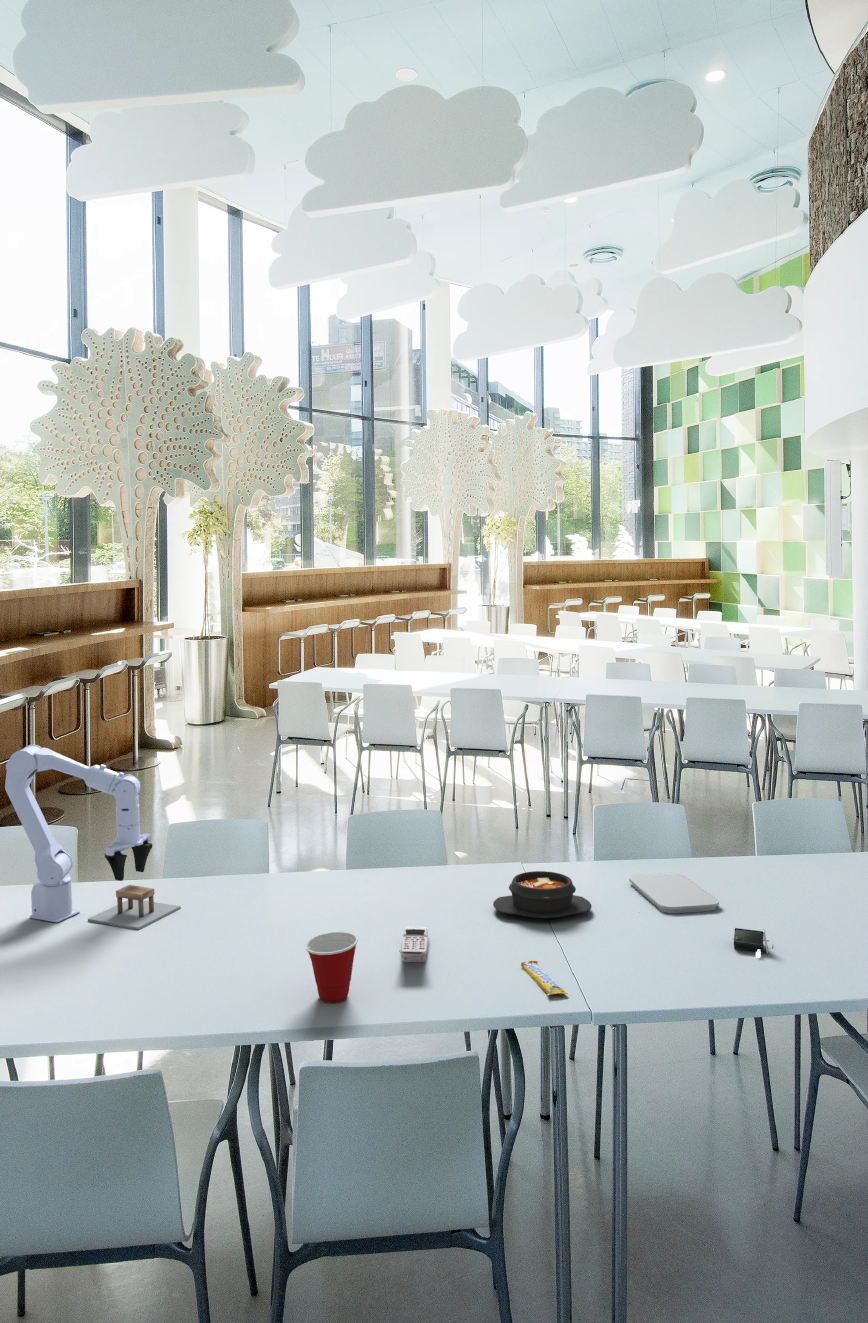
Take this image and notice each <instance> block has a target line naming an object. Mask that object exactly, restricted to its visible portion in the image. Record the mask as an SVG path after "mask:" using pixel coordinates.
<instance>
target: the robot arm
mask: <svg viewBox="0 0 868 1323" xmlns="http://www.w3.org/2000/svg"><path fill="white" fill-rule="evenodd" d="M5 768H6V773H5V785H4V789H5V792H6V794H7V796H8V798H9V800H10V802H11V805H12V806H13V808H14V811H15V812H16V815H17V817H18V819H19V822H20V823H21V825H22V827H23V829H24V831H25V833H26V835H27V837H28V838H27V839H29V842H30V844H31V846H32V848H33V851H34V862H35V865H36V870H37V871H36V875H37V876H36V877H37V878H38V880H37V881H36V882H35V883H34V884H33V886H32V889H31V893H30V895H31V896H30V899H31V914H30V915H29V919H34V920H35V919H36V920H40V921H46V922H52V923H60V922H63V921H64V920H66V919H69V918H71V917H73V916H75V915H78V914H80V913H81V910H78V909H73V898H72V897H73V896H72V895H73V894H72V893H73V892H72V877H71V875H70V874H69V872H70V871H71V870H72V868H73V864H74V863H73V862H74V861H73V857H72V856H71V855H70V854H69V853H68V852H66V850H64V848H63V846H62V844H61V843H59V842H58V841H57V840H55V838H54V836H53V833H52V831H51V829H50V827H49V825H48V822H47V821H46V819H45V816H44V814H43V812H42V810H41V808H40V806H39V804H38V802H37V800H36V798H35V796H34V793H33V791H32V789H31V787H30V784H31V783H32V780H33V779H34V776H35V774H36V773H39V772H44V771H50V770H55V771H58V772H60V773H64V774H66V775H70V776H73V777H76V778H79V779H83V781H84V784H85V785H86V787H89V788H92V789H94V790H97V791H100V792H103V793H105V794H108V795H113V796H112V797H113V798H114V799H115V823H116V824H115V826H116V841H114V842H112V844H110V845H108V846H106V847H105V853H104V858H105V859H106V860H107V862H108V864H109V866H110V868H111V871H112V874H113V876H114V880H115V881H120V882H123V881H124V877H125V864H126V860H127V857H128V855H127V854H124V853H123V851H126V850H127V849H128V850H129V849H132V854H133V857H134V858H133V859H134V868H135V869H134V870H135V872H138V873H139V872H140V873H144V871H145V868H146V864H147V860H148V857H149V853H150V852H151V851H152V849H153V843H150V842H151V841H152V835H151V834H152V833H147V832H144V833H142V834H141V819H140V818H141V817H140V814H141V813H140V812H141V811H140V799H139V795H138V794H139V792H140V791H141V787H142V786H141V782H140V780H139V779H138V778H137V777H136V776H134V774H131V773H130V774H125V773H124V772H121V771H120V772H117V771H115V770H111V769H110V768H109V769H108V768H107V765H106V764H103V763H102V764H100V765H99V764H94V765H92V766H88V765H86V764H84V763H81V762H78V761H76V760H74V759H72V758H70V757H67V756H65V755H62V754H61V753H58V752H56V751H54V750H52V749H50V748H48V747H42V746H40V745H38V744H29V745H26V746H25V747H23V748H22V749H20V750H17V751H15V752H14V753H12V754H11V756H10V757H9V758H8V761H7V762H6V763H5Z"/></svg>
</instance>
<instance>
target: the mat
mask: <svg viewBox="0 0 868 1323" xmlns="http://www.w3.org/2000/svg"><path fill="white" fill-rule="evenodd" d="M122 906H123V913H122V914H118V906H117V905H115V906H111V907H110V908H109V909H106V910H103V911H102V912H99V913H97V914H96V915H93V916H92V917H91V916H90V917H88V918H87V922H89V923H90V922H91V923H97V924H102V925H109V926H114V927H119V928H125V929H132V930H138V931H140V930H141V929H143V928H145V927H148V926H149V925H151V924H153V923H155V922H157V921H159V920H161V919H163V918H164V917H167V916H169V915H170V914H173V913H175V912H176V911H178V910H180V909H181V905H176V904H169V903H163V902H155V901H154V912H153V913H149V900H145V899H144V900H143V907H144V917H142V918H139V907H138V900H133V909H128V900H126V901H122Z"/></svg>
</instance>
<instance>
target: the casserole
mask: <svg viewBox="0 0 868 1323" xmlns="http://www.w3.org/2000/svg"><path fill="white" fill-rule="evenodd" d="M508 890H509V891H510V893H511V895H506V896H505V895H504V896H500V897H497V898H496V899H495V900H494V901H493V904H492V905H493V908H494V909H495V910H496V911H498V912H500V913H501V914H505V915H506V914H507V915H515V916H524V917H528V918H532V919H539V920H541V919H542V920H546V919H548V920H549V919H557V918H562V917H566V916H570V915H571V916H572V915H577V914H583V913H587V912H589V911H590V910H591V909H592V907H593V906H592V904H591V902H590V901H589V900H588V899H586V898H585V897H583V896H581V895H580V896H579V895H574V894H575V892H576V890H577V889H576V886H575V885H574V884H573V880H572V879H571V878H570V877H569V876H568V875H565V874H563V873H562V874H561V873H558V872H554V871H553V872H552V871H545V870H543V871H541V870H540V871H538V870H536V871H527V872H522V873H519V874H516V875H515V876H513V878H512V881H511V883H510V884H509V885H508Z"/></svg>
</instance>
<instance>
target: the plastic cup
mask: <svg viewBox="0 0 868 1323" xmlns="http://www.w3.org/2000/svg"><path fill="white" fill-rule="evenodd" d="M358 941H359V937H358V936H357V934H354V933H352V932H348V931H347V932H346V931H330V932H325V933H321V934H318V935H315V936H313V937H311V938H310V939H308V940H307V941H306V942H305V944H304V947H305V950H306V952H307V953H308V955H309V958H310V961H311V965H312V966H311V967H312V970H313V971H312V972H313V974H314V980H315V984H316V986H317V987H316V988H317V993H318V994H317V995H318V997H319V1000H320V999H321V1000H322V1002H323V1001H325V1002H324V1003H326V1002H331V1003H330V1004H335V1003H334V1002H339V1003H341V1002H340V1001H342V1002H344V1001H345V1000H347V999H346V998H348V997H347V996H349V993H350V987H351V986H350V985H351V981H352V976H353V975H352V974H353V973H352V972H353V968H354V965H353V964H354V958H355V955H356V948H357V944H358ZM344 999H345V1000H344ZM321 1000H320V1001H321Z"/></svg>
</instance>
